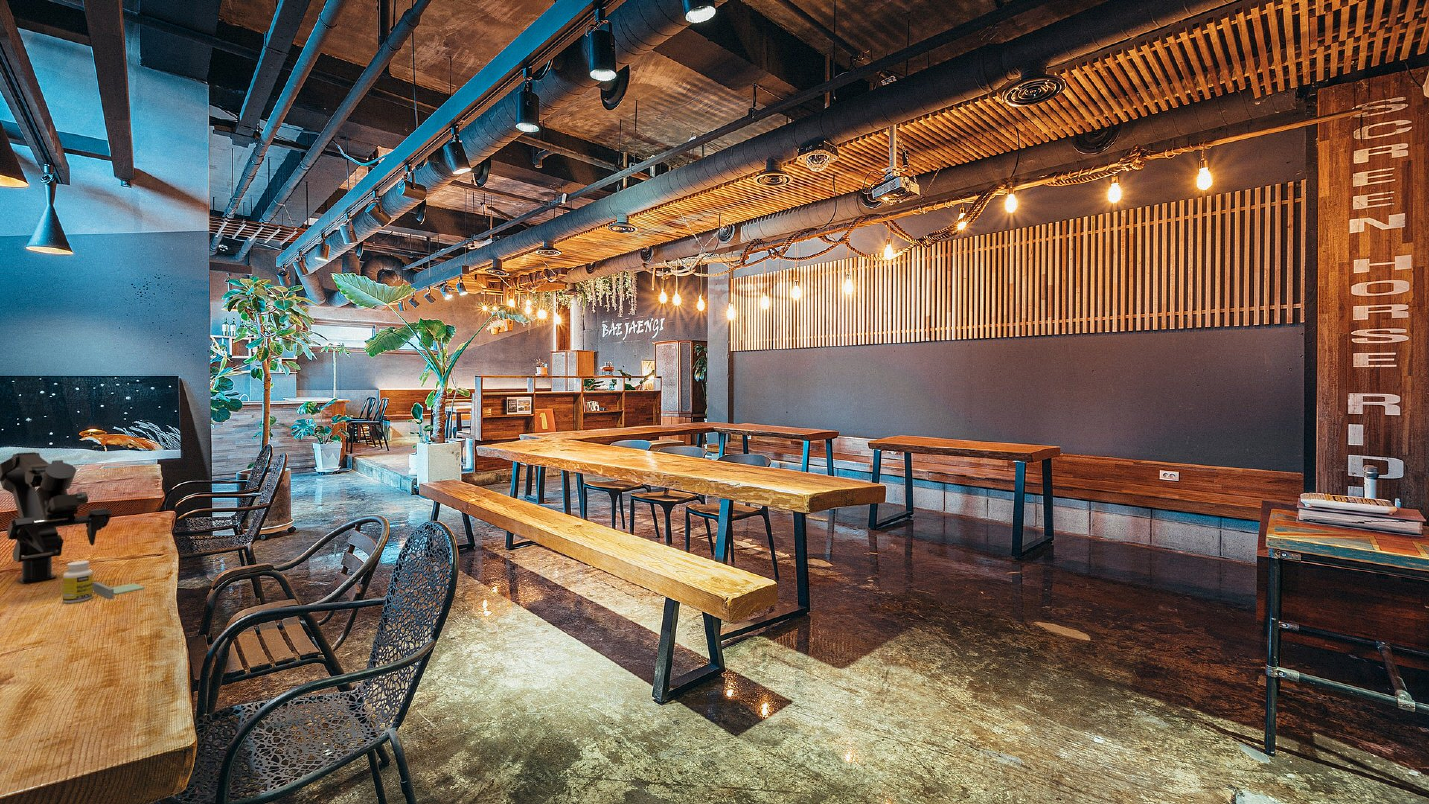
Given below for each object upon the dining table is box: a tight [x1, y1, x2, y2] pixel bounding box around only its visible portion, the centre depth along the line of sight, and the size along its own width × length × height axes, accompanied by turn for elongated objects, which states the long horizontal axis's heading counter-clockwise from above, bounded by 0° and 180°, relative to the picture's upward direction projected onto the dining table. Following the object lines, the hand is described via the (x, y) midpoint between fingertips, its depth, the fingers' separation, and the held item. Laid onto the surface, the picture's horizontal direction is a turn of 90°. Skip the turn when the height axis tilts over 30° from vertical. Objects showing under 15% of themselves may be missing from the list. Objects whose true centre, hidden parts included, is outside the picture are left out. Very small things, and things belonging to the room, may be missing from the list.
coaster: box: [111, 582, 145, 595], centre depth 169 cm, size 7×6×1 cm
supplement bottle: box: [62, 560, 94, 604], centre depth 160 cm, size 5×5×10 cm
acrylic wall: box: [93, 581, 115, 600], centre depth 164 cm, size 12×1×2 cm, turn 60°
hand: (69, 548), depth 163 cm, fingers open, 9 cm apart
